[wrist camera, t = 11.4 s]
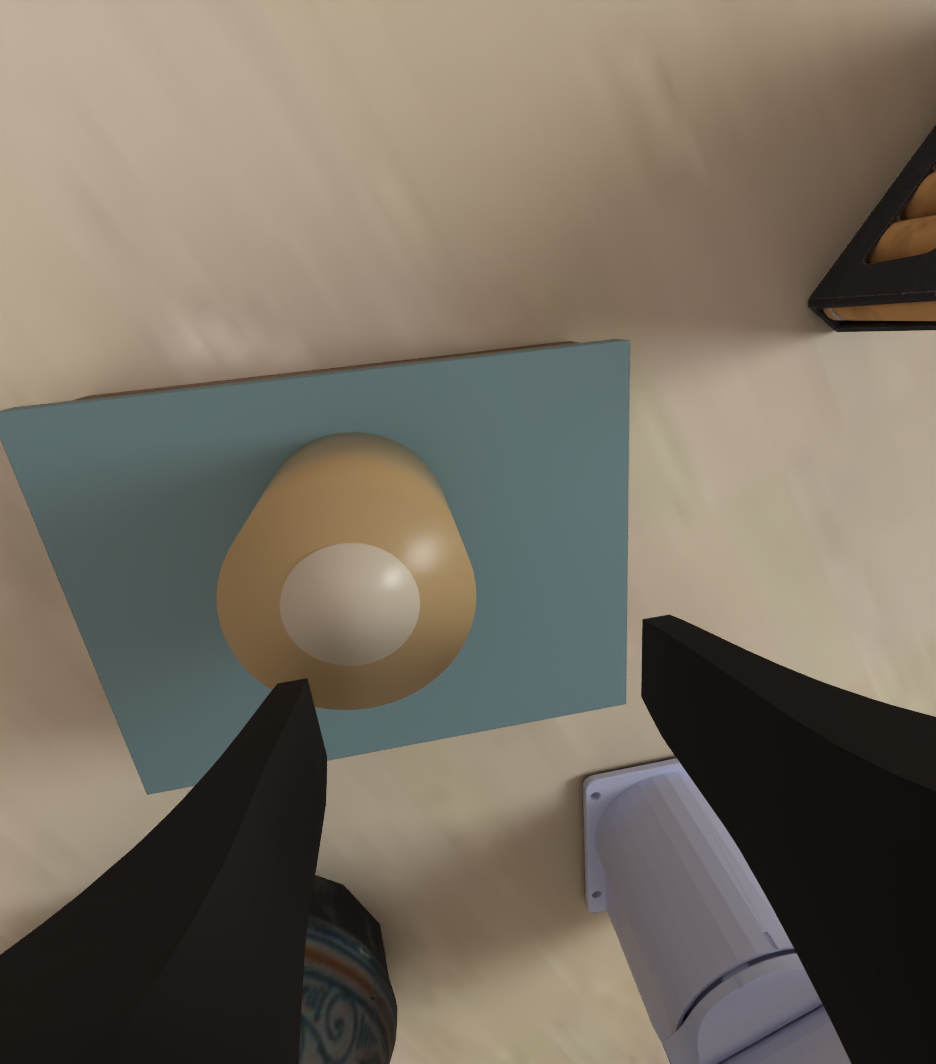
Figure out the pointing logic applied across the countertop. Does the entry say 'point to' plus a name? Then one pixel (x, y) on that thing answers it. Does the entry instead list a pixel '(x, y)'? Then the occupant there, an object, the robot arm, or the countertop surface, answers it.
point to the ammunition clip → (889, 259)
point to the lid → (241, 479)
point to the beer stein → (345, 983)
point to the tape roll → (348, 576)
